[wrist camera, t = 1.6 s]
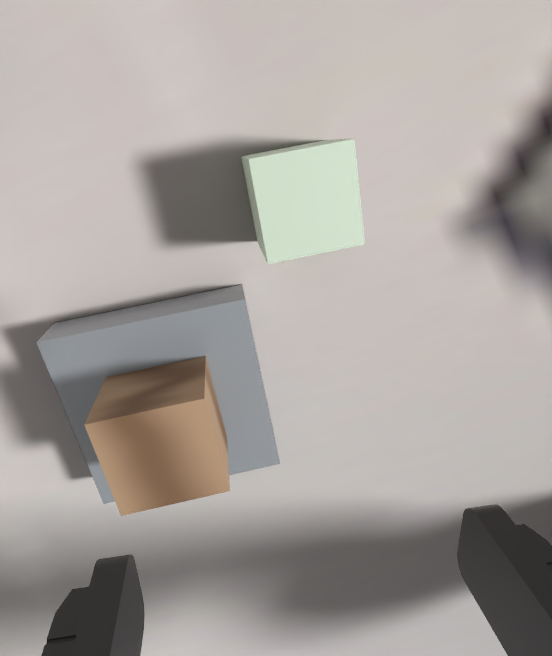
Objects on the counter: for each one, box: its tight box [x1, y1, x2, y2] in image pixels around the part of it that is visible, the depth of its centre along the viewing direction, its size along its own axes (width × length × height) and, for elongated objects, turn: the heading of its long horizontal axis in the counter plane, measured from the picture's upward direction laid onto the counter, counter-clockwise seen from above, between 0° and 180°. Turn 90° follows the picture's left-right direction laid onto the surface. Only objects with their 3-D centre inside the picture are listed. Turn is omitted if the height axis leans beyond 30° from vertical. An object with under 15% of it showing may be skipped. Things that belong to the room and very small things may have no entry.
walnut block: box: [84, 356, 230, 516], centre depth 26 cm, size 6×6×5 cm
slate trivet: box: [36, 284, 280, 504], centre depth 30 cm, size 12×12×3 cm
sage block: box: [241, 139, 365, 264], centre depth 25 cm, size 5×5×6 cm
